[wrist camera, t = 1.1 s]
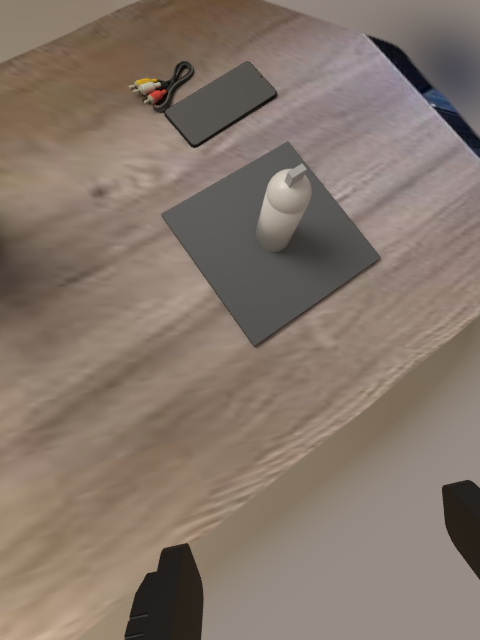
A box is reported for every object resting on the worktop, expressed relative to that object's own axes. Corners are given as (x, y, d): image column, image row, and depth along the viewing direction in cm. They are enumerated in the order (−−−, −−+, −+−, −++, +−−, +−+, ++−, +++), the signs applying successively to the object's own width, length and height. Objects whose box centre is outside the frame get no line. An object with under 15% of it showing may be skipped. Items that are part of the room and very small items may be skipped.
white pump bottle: (248, 231, 39) (262, 163, 27) (276, 214, 40) (301, 140, 28) (268, 258, 39) (292, 202, 27) (296, 240, 40) (331, 177, 27)
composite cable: (185, 63, 45) (184, 45, 42) (207, 86, 44) (207, 68, 42) (130, 98, 43) (124, 81, 41) (152, 122, 43) (148, 106, 40)
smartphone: (162, 110, 42) (248, 59, 45) (163, 116, 43) (247, 65, 46) (193, 147, 41) (279, 92, 44) (193, 152, 42) (277, 98, 45)
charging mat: (161, 216, 40) (161, 214, 39) (287, 144, 43) (288, 141, 42) (253, 346, 37) (254, 346, 36) (378, 259, 41) (380, 257, 40)
